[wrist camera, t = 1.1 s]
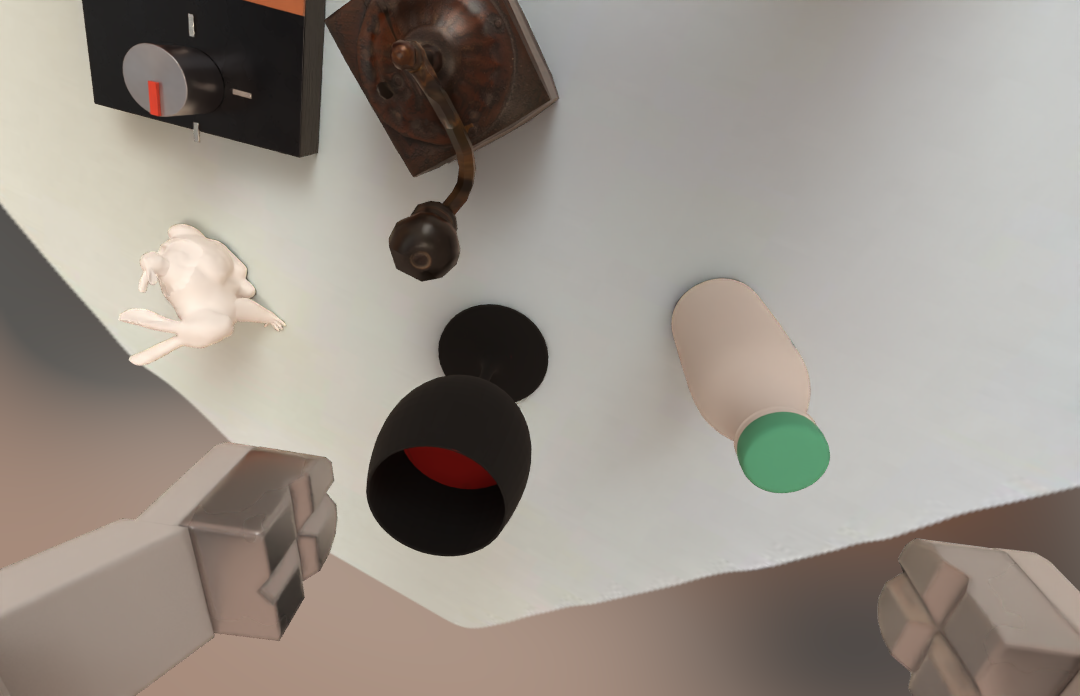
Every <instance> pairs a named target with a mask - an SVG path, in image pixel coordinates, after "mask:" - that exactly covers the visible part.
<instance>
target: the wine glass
mask: <svg viewBox="0 0 1080 696" xmlns="http://www.w3.org/2000/svg"><path fill="white" fill-rule="evenodd" d="M438 351H439V360H440V365H441V367H442V370H443V372H444V374H445V375H446V376H444V377H439V378H436V379H433V380H431V381H428V382H426V383H424V384H422V385H420V386H419V387H417V388H415V389H414V390H412V391H411V392H410V393H409V394H408V395H406V396H405V397H404V398H403V399H402V400H401V401H400V402H399V403H398V404H397V405H396V407H395V408H394V409H393V410H392V412H391V413H390V414H389V416H388V417H387V419H386V421H385V423H384V425H383V427H382V429H381V431H380V433H379V435H378V437H377V440H376V443H375V446H374V449H373V452H372V456H371V460H370V464H369V470H368V477H367V489H366V493H367V501H368V504H369V507H370V510H371V512H372V514H373V516H374V518H375V519H376V521H377V522H378V523H379V525H380V526H381V527H382V528H383V529H384V530H385V531H386V532H387V533H388V534H389V535H390V536H392V537H393V538H394V539H395V540H397V541H399V542H400V543H402V544H403V545H405V546H407V547H410V548H412V549H414V550H417V551H420V552H423V553H427V554H431V555H438V556H459V555H466V554H469V553H473V552H475V551H478V550H480V549H483V548H484V547H486V546H487V545H489V544H490V543H491V542H492V541H493V540H495V539H496V538H497V536H498V535H499V534H500V532H501V531H502V530H503V528H504V527H505V525H506V524H507V523H508V521H509V519H510V518H511V516H512V515H513V513H514V511H515V509H516V507H517V505H518V503H519V501H520V499H521V497H522V494H523V492H524V490H525V487H526V483H527V480H528V476H529V471H530V465H531V440H530V434H529V430H528V426H527V423H526V420H525V418H524V416H523V414H522V412H521V410H520V408H519V407H518V406H517V404H516V403H515V402H517V401H520V400H522V399H524V398H526V397H527V396H529V395H530V394H531V393H533V392H534V391H535V390H536V389H537V388H538V387H539V385H540V384H541V382H542V381H543V379H544V376H545V374H546V371H547V366H548V350H547V346H546V342H545V340H544V338H543V336H542V334H541V332H540V331H539V329H538V328H537V326H536V325H535V324H534V323H533V322H532V321H531V320H530V319H528V318H527V317H526V316H524V315H523V314H521V313H519V312H518V311H516V310H513V309H511V308H508V307H505V306H500V305H491V304H487V305H478V306H474V307H471V308H468V309H466V310H464V311H462V312H460V313H459V314H457V315H456V316H455V317H454V318H453V319H451V321H450V322H449V323H448V324H447V326H446V327H445V329H444V331H443V333H442V335H441V338H440V341H439V348H438Z"/></svg>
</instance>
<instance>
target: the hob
mask: <svg viewBox="0 0 1080 696" xmlns="http://www.w3.org/2000/svg"><path fill="white" fill-rule="evenodd" d="M82 4H83V12H84V20H85V28H86V37H87V45H88V53H89V61H90V69H91V77H92V86H93V94H94V102H95V104H98V105H102V106H106V107H110V108H114V109H117V110H121V111H125V112H129V113H133V114H136V115H140V116H144V117H148V118H151V119H155V120H159V121H163V122H167V123H170V124H174V125H178V126H182V127H186V128H189V129H193V130H194V141H195V142H200V131H201V132H205V133H208V134H212V135H216V136H220V137H224V138H227V139H231V140H235V141H239V142H242V143H246V144H250V145H254V146H258V147H261V148H265V149H269V150H273V151H277V152H280V153H284V154H288V155H292V156H296V157H299V158H300V157H304V156H308V155H312V154H316V153H318V138H319V118H320V99H321V79H322V59H323V39H324V19H325V0H306V1H305V16H301V15H297V14H293V13H290V12H286V11H282V10H278V9H275V8H271V7H267V6H264V5H260V4H256V3H252V2H249V1H245V0H82ZM141 43H151V44H162V45H174V46H185V47H192V48H195V49H198V50H200V51H202V52H203V53H205V54H206V55H207V56H208V57H209V58H210V59H211V60H212V61H213V62H214V63H215V65H216V66H217V68H218V70H219V72H220V74H221V77H222V80H223V85H224V94H223V98H222V101H221V103H220V105H219V106H218V107H217V108H216V109H215V110H214V111H212V112H210V113H206V114H194V115H181V116H168V117H163V116H156V115H152V114H150V112H148V111H147V110H145V109H144V108H143V107H141V106H140V105H139V104H138V103H137V102H136V101H135V99H134V98H133V97H132V95H131V94H130V92H129V90H128V88H127V86H126V83H125V80H124V76H123V61H124V58H125V55H126V54H127V52H128V51H129V50H130V49H131V48H132V47H133V46H135V45H137V44H141Z"/></svg>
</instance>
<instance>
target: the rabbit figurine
mask: <svg viewBox="0 0 1080 696" xmlns="http://www.w3.org/2000/svg"><path fill="white" fill-rule="evenodd" d="M168 235H169V237H170V240H168V241H166V242H165V243H163V244H162V245H160V246H161V247H160V249H159V251H158V253H157V252H147V253H145V254H143V255H142V257H141V259H140V266H141V268H142V269H143V271H144V272H143V274H142V276H141V279H140V281H139V291H141V292H146V291H147V285H148V282H149V284H150V285H155V284H156V283H157V276H158V280H159V283H160V286H161V290H162V293H163V294H164V296H165V297H166V299H167V300H168V301H169V302H170V303H171V305H172V306H173V307H174V309H175V310H176V313H177V315H178V317H179V318H180V319H181V321H175V320H172V319H168V318H166V317H163V316H161V315H159V314H157V313H154V312H152V311H150V310H147V309H136V308H133V309H130V310H126V311H125V312H123V313H121V314H120V317H119V320H120V321H123V322H127V323H131V324H135V325H139V326H142V327H146V328H149V329H153V330H158V331H163V332H169V333H175V334H177V335H176V336H174V337H172V338H170V339H168V340H165V341H163V342H160V343H158V344H156V345H154V346H152V347H150V348H149V349H147V350H144V351H142V352H139V353H137V354H134V355H132V356H130V359H129V361H131V362H132V363H133V364H136V365H144V364H149V363H151V362H153V361H156V360H158V359H159V358H161V357H163V356H165V355H167V354H169V353H170V352H172V351H174V350H175V349H177V348H179V347H182V346H189V347H194V348H205V347H208V346H209V345H211V344H216V343H218V342H220V341H222V340H223V339H224V338H227V337H229V336H230V335H232V334H233V332H234V327H233V326H234V325H235V323H236V322H244V321H250V322H259V323H265V324H264V327H266V326H267V325H268V324H269V323H270V324H271V325H272V326H273V327H274V328H275V330H277V331H279V330H278V329H279V328H280V329H282V330H283V328H282V325H284V326H286V325H285V324H284V323H285V322H283V321H282V320H281V319H279V318H278V317H277V316H276V315H275V314H274V313H273V312H271V311H269V310H267V309H266V308H264V307H262V306H261V305H259V304H258V303H256V302H254V301H253V300H251V299H248V298H252V297H253V296H254V295H255V288H254V287H253V285H252V284H251V283H250V282H249V281H247V280H246V275H247V268H246V266H245V265H244V264H243V263H242V262H241V261H240V260H239V259H238V258H237V257H236V256H235V255H234V254H233V253H232V252H231V251H230V250H229V249H228V248H227V247H226V246H225V245H224V244H222V243H221V242H219V241H217V240H213V239H209V238H206V237H205V236H204V235H203V234H202V233H201V232H200V231H199V230H197V229H196V228H194V227H192V226H189V225H186V224H177V225H173V226H171V227H170V228H169V229H168ZM156 274H157V276H156ZM242 297H244V298H242ZM277 326H278V327H277ZM279 332H280V331H279Z"/></svg>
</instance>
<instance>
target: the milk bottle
mask: <svg viewBox="0 0 1080 696" xmlns="http://www.w3.org/2000/svg"><path fill="white" fill-rule="evenodd" d="M671 325H672V332H673V337H674V341H675V344H676V348H677V351H678V355H679V358H680V361H681V365H682V368H683V371H684V375H685V378H686V381H687V384H688V387H689V390H690V393H691V395H692V398H693V400H694V403H695V405H696V406H697V408H698V410H699V412H700V413H701V415H702V416H703V418H704V419H705V420H706V421H707V422H708V423H709V424H710V425H711V426H712V427H713V428H714V429H715V430H716V431H718V432H719V433H720V434H722V435H724V436H725V437H727V438H729V439H731V440H732V441H734V448H735V452H736V454H737V456H738V460H739V463H740V466H741V468H742V470H743V472H744V474H745V476H746V477H747V478H748V479H749V480H750V481H751V482H752V483H753V484H754V485H755V486H757V487H759V488H761V489H763V490H765V491H769V492H774V493H789V492H795V491H798V490H801V489H804V488H806V487H808V486H810V485H812V484H813V483H814V482H816V481H817V480H818V479H819V478H820V477H821V476H822V475H823V474H824V472H825V471H826V469H827V467H828V464H829V460H830V452H829V446H828V443H827V441H826V439H825V437H824V435H823V434H822V432H821V431H820V429H819V428H818V427H817V425H816V423H815V421H814V420H813V419H812V417H810V416H809V415H808V414H807V410H808V406H809V401H810V380H809V375H808V371H807V368H806V366H805V363H804V361H803V359H802V357H801V355H800V354H799V352H798V350H797V349H796V347H795V346H794V344H793V342H792V341H791V339H790V338H789V337H788V335H787V334H786V332H785V331H784V330H783V328H782V327H781V325H780V324H779V323H778V321H777V320H776V319H775V317H774V316H773V315H772V313H771V312H770V311H769V309H768V308H767V307H766V305H765V304H764V303H763V301H762V300H761V299H760V297H759V296H758V295H757V294H756V293H755V292H754V291H753V290H752V289H751V288H750V287H749V286H747V285H746V284H744V283H742V282H739V281H736V280H733V279H724V278H721V279H712V280H708V281H704V282H702V283H700V284H698V285H696V286H694V287H692V288H691V289H690V290H688V291H687V292H686V293H685V294H684V295H683V296H682V297H681V299H680V300H679V301H678V303H677V305H676V307H675V309H674V311H673V315H672V323H671Z"/></svg>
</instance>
